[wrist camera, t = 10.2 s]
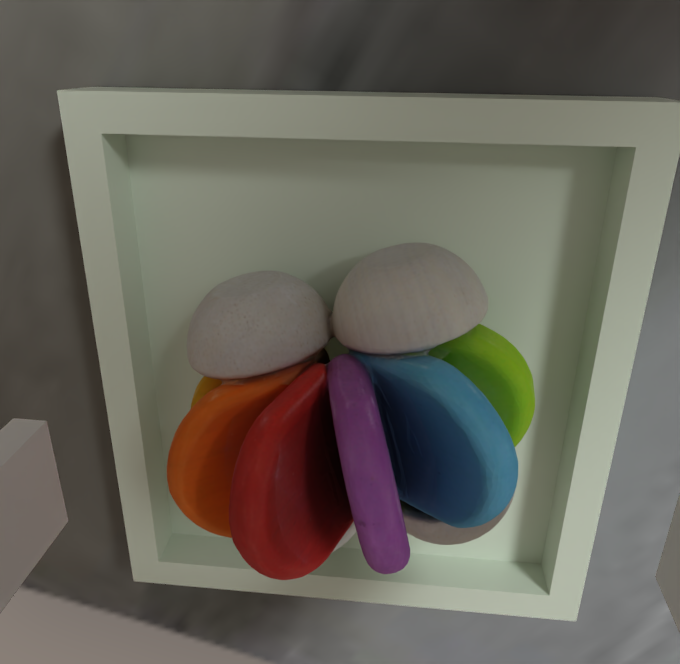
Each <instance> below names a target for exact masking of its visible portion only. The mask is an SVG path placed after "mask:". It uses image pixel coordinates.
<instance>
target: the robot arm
mask: <svg viewBox="0 0 680 664" xmlns="http://www.w3.org/2000/svg"><path fill="white" fill-rule="evenodd" d="M67 522H68V517H67V512H66V507H65V503H64V498H63V494H62V489H61V484H60V480H59V475H58V470H57V466H56V461H55V457H54V452H53V447H52V443H51V438H50V433H49V429H48V424H47V421H43V420H30V419H17V418H13V419H12V420H11V421H10V422H9V423H8V424H7V425H5V426H4V427H3V428H2V429H1V430H0V613H1V612H2V610H3V609H4V608H5V606H6V605H7V603H8V602H9V601H10V599H11V598H12V596H13V595H14V594H15V593H16V591H17V590H18V589H19V587H20V586H21V585H22V583H23V582H24V580H25V579H26V578H27V576H28V575H29V574H30V572H31V571H32V570H33V568H34V567H35V566H36V564H37V563H38V562H39V560H40V559H41V557H42V556H43V555H44V553H45V552H46V551H47V549H48V548H49V547H50V545H51V544H52V543H53V541H54V540H55V539H56V537H57V536H58V535H59V533H60V532H61V530H62V529H63V528H64V526H65V525H66V524H67ZM655 577H656V579H657V582H658V584H659V586H660V589H661V591H662V593H663V596H664V598H665V600H666V603H667V605H668V607H669V610H670V612H671V614H672V616H673V619H674V621H675V623H676V626H677V628H678V630H679V633H680V494H679V498H678V501H677V505H676V508H675V511H674V515H673V518H672V522H671V525H670V529H669V532H668V535H667V539H666V542H665V546H664V549H663V552H662V556H661V559H660V563H659V566H658V570H657V573H656V576H655Z"/></svg>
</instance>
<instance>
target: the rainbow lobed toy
mask: <svg viewBox="0 0 680 664" xmlns="http://www.w3.org/2000/svg"><path fill="white" fill-rule="evenodd" d="M487 311H488V296H487V294H486V291H485V289H484V287H483V285H482V283H481V281H480V279H479V278H478V276H477V275H476V273H475V272H474V270H473V269H472V268H471V267H470V266H469V265H468V264H467V263H466V262H465V261H464V260H462V259H461V258H460V257H458V256H457V255H455V254H454V253H452V252H450V251H449V250H447V249H445V248H442V247H440V246H437V245H433V244H429V243H404V244H398V245H394V246H390V247H386V248H383V249H380V250H378V251H375V252H373V253H371V254H369V255H367V256H366V257H365V258H363V259H362V260H361V261H359V262H358V263H357V264H356V265H355V266H354V267H353V269H352V270H351V271H350V272H349V273H348V274H347V276H346V277H345V279H344V281H343V282H342V284H341V286H340V288H339V290H338V293H337V295H336V298H335V302H334V307H333V312H332V311H331V310H330V309H329V307H328V306H327V304H326V303H325V301H324V300H323V299H322V298H321V296H320V295H319V294H318V293H317V292H316V291H315V290H314V289H313V288H312V287H311V286H309V285H308V284H307V283H305V282H304V281H302V280H300V279H298V278H296V277H294V276H292V275H289V274H287V273H283V272H279V271H257V272H251V273H246V274H243V275H239V276H236V277H233V278H231V279H228V280H226V281H224V282H222V283H220V284H218V285H217V286H216V287H214V288H213V289H212V290H211V291H210V292H209V293H208V294H207V295H206V296H205V297H204V299H203V300H202V301H201V303H200V304H199V305H198V307H197V309H196V311H195V312H194V314H193V317H192V319H191V322H190V325H189V330H188V334H187V356H188V360H189V363H190V365H191V367H192V368H193V369H194V370H195V371H197V372H198V373H200V374H201V375H203V376H204V377H203V378H202V379H201V381H200V382H199V384H198V385H197V387H196V390H195V393H194V396H193V399H192V403H191V409H190V411H189V412H188V413H187V415H186V416H185V417H184V418H183V420H182V421H181V423H180V425H179V426H178V428H177V430H176V432H175V435H174V437H173V440H172V443H171V447H170V450H169V455H168V461H167V482H168V487H169V491H170V494H171V496H172V498H173V500H174V501H175V503H176V504H177V506H178V507H179V509H180V510H181V511H182V512H183V513H184V515H185V516H186V517H188V518H189V519H190V520H191V521H192V522H193V523H195V524H196V525H197V526H199V527H201V528H203V529H204V530H206V531H208V532H211V533H214V534H217V535H220V536H224V537H229V538H232V540H233V543H234V544H235V546H236V548H237V550H238V551H239V553H240V554H241V556H242V558H243V559H244V560H245V561H246V562H247V563H248V565H250V566H251V567H252V568H253V569H254V570H256V571H257V572H259V573H260V574H262V575H264V576H267V577H269V578H273V579H277V580H290V579H296V578H300V577H303V576H305V575H307V574H309V573H311V572H312V571H314V570H315V569H317V568H318V567H319V566H320V565H321V564H323V563H324V562H325V560H326V559H327V558H328V557H329V556H330V554H331V553H332V552H334V551H335V550H337V549H338V548H340V547H341V546H343V545H344V544H345V543H346V542H348V541H349V539H350V538H351V537H352V536H353V535H354V534H355V532H356V531H357V535H358V539H359V542H360V546H361V549H362V552H363V555H364V557H365V559H366V561H367V564H368V565H369V566H370V567H371V568H372V569H373V570H374V571H376V572H378V573H381V574H392V573H396V572H398V571H400V570H402V569H403V568H404V567H405V566H406V565H407V564H408V561H409V558H410V546H409V541H408V536H407V533H408V534H410V535H412V536H414V537H415V538H418V539H420V540H422V541H425V542H429V543H433V544H439V545H456V544H463V543H466V542H469V541H472V540H474V539H477V538H479V537H481V536H482V535H484V534H486V533H487V532H489V531H490V530H491V529H493V528H494V527H495V526H496V525H497V524H498V523H499V522H500V520H501V519H502V518H503V517H504V515H505V514H506V512H507V511H508V509H509V507H510V505H511V503H512V500H513V497H514V494H515V490H516V486H517V480H518V458H517V454H516V450H515V447H516V446H517V445H518V443H519V442H520V441H521V440H522V438H523V437H524V435H525V434H526V432H527V430H528V428H529V426H530V424H531V421H532V418H533V415H534V410H535V393H534V384H533V377H532V374H531V371H530V369H529V367H528V365H527V362H526V361H525V359H524V357H523V356H522V355H521V353H520V352H519V351H518V350H517V348H516V347H515V346H514V345H513V344H511V343H510V342H509V341H508V340H507V339H505V338H504V337H503V336H501V335H500V334H498V333H496V332H495V331H493V330H491V329H489V328H487V327H486V326H484V325H481V324H479V323H480V322H481V321H482V320H483V318H484V317H485V315H486V313H487ZM333 337H336V338H337V340H338V341H339V342H340V343H341V344H342V345H344V346H345V347H347V348H348V350H349V353H347V354H341V355H338V356H336V357H335V358H333V359H332V360H331V361H330V359H329V355H328V353H327V351H326V350H325V348H324V347H325V346H326V344H327V343H328V342H329V341H330V339H331V338H333Z"/></svg>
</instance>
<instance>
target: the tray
mask: <svg viewBox="0 0 680 664" xmlns="http://www.w3.org/2000/svg"><path fill="white" fill-rule="evenodd" d="M57 95H58V102H59V108H60V115H61V121H62V127H63V134H64V140H65V146H66V153H67V159H68V166H69V172H70V178H71V185H72V191H73V198H74V204H75V210H76V217H77V223H78V229H79V236H80V242H81V249H82V255H83V261H84V268H85V274H86V281H87V287H88V293H89V300H90V306H91V312H92V319H93V325H94V332H95V338H96V344H97V351H98V357H99V364H100V370H101V376H102V383H103V389H104V396H105V402H106V408H107V415H108V421H109V427H110V434H111V440H112V447H113V453H114V459H115V466H116V472H117V479H118V485H119V491H120V498H121V504H122V510H123V517H124V523H125V530H126V536H127V542H128V549H129V555H130V562H131V568H132V574H133V581H137V582H148V583H159V584H170V585H181V586H192V587H203V588H214V589H225V590H236V591H247V592H258V593H269V594H280V595H291V596H302V597H313V598H324V599H335V600H346V601H357V602H368V603H379V604H390V605H401V606H412V607H423V608H434V609H445V610H456V611H467V612H478V613H490V614H501V615H512V616H523V617H534V618H545V619H556V620H567V621H576V620H577V615H578V611H579V606H580V602H581V597H582V593H583V588H584V584H585V579H586V575H587V570H588V566H589V561H590V556H591V552H592V547H593V543H594V538H595V534H596V529H597V525H598V520H599V516H600V511H601V507H602V502H603V498H604V493H605V489H606V484H607V480H608V475H609V471H610V466H611V462H612V457H613V453H614V448H615V444H616V439H617V435H618V430H619V425H620V421H621V416H622V412H623V407H624V403H625V398H626V394H627V389H628V385H629V380H630V376H631V371H632V367H633V362H634V358H635V353H636V349H637V344H638V340H639V335H640V331H641V326H642V322H643V317H644V313H645V308H646V304H647V299H648V294H649V290H650V285H651V281H652V276H653V272H654V267H655V263H656V258H657V254H658V249H659V245H660V240H661V236H662V231H663V227H664V222H665V218H666V213H667V209H668V204H669V200H670V195H671V191H672V186H673V182H674V177H675V173H676V168H677V163H678V159H679V154H680V101H679V100H673V99H667V98H661V97H622V96H568V95H515V94H462V93H408V92H355V91H301V90H248V89H195V88H141V87H85V88H75V89H65V90H57ZM404 243H429V244H433V245H437V246H440V247H442V248H445V249H447V250H449V251H450V252H452V253H454V254H455V255H457V256H458V257H460V258H461V259H462V260H464V261H465V262H466V263H467V264H468V265H469V266H470V267H471V268H472V269H473V270H474V272H475V273H476V275H477V276H478V278H479V279H480V281H481V283H482V285H483V287H484V289H485V291H486V294H487V296H488V311H487V313H486V315H485V317H484V318H483V320H482V321H481V322H480V323H479V324H481V325H484V326H486V327H487V328H489V329H491V330H493V331H495V332H496V333H498V334H500V335H501V336H503V337H504V338H505V339H507V340H508V341H509V342H510V343H511V344H513V345H514V346H515V347H516V348H517V350H518V351H519V352H520V353H521V355H522V356H523V357H524V359H525V361H526V362H527V365H528V367H529V369H530V371H531V374H532V377H533V384H534V393H535V410H534V415H533V418H532V421H531V424H530V426H529V428H528V430H527V432H526V434H525V435H524V437H523V438H522V440H521V441H520V442H519V443H518V445H517V446H516V447H515V450H516V454H517V458H518V480H517V486H516V490H515V494H514V497H513V500H512V503H511V505H510V507H509V509H508V511H507V512H506V514H505V515H504V517H503V518H502V519H501V520H500V522H499V523H498V524H497V525H496V526H495V527H494V528H493V529H491V530H490V531H489V532H487V533H486V534H484V535H482V536H481V537H479V538H477V539H474V540H472V541H469V542H466V543H463V544H456V545H439V544H433V543H429V542H425V541H422V540H420V539H418V538H415V537H414V536H412V535H410V534H408V533H407V536H408V541H409V546H410V558H409V561H408V564H407V565H406V566H405V567H404V568H403V569H402V570H400V571H398V572H396V573H392V574H381V573H378V572H376V571H374V570H373V569H372V568H371V567H370V566H369V565H368V564H367V561H366V559H365V557H364V555H363V552H362V549H361V546H360V542H359V539H358V535H357V531H356V532H355V534H354V535H353V536H352V537H351V538H350V539H349V541H348V542H346V543H345V544H344V545H343V546H341V547H340V548H338V549H337V550H335V551H334V552H332V553H331V554H330V556H329V557H328V558H327V559H326V560H325V562H324V563H323V564H321V565H320V566H319V567H318V568H317V569H315V570H314V571H312V572H311V573H309V574H307V575H305V576H303V577H300V578H296V579H290V580H277V579H273V578H269V577H267V576H264V575H262V574H260V573H259V572H257V571H256V570H254V569H253V568H252V567H251V566H250V565H248V563H247V562H246V561H245V560H244V559H243V558H242V556H241V554H240V553H239V551H238V550H237V548H236V546H235V544H234V543H233V540H232V538H229V537H224V536H220V535H217V534H214V533H211V532H208V531H206V530H204V529H203V528H201V527H199V526H197V525H196V524H195V523H193V522H192V521H191V520H190V519H189V518H188V517H186V516H185V515H184V513H183V512H182V511H181V510H180V509H179V507H178V506H177V504H176V503H175V501H174V500H173V498H172V496H171V494H170V491H169V487H168V482H167V461H168V455H169V450H170V447H171V443H172V440H173V437H174V435H175V432H176V430H177V428H178V426H179V425H180V423H181V421H182V420H183V418H184V417H185V416H186V415H187V413H188V412H189V411H190V409H191V403H192V399H193V396H194V393H195V390H196V387H197V385H198V384H199V382H200V381H201V379H202V378H203V377H204V376H203V375H201V374H200V373H198V372H197V371H195V370H194V369H193V368H192V367H191V365H190V363H189V360H188V356H187V334H188V330H189V325H190V322H191V319H192V317H193V314H194V312H195V311H196V309H197V307H198V305H199V304H200V303H201V301H202V300H203V299H204V297H205V296H206V295H207V294H208V293H209V292H210V291H211V290H212V289H213V288H214V287H216V286H217V285H218V284H220V283H222V282H224V281H226V280H228V279H231V278H233V277H236V276H239V275H243V274H246V273H251V272H257V271H279V272H283V273H287V274H289V275H292V276H294V277H296V278H298V279H300V280H302V281H304V282H305V283H307V284H308V285H309V286H311V287H312V288H313V289H314V290H315V291H316V292H317V293H318V294H319V295H320V296H321V298H322V299H323V300H324V301H325V303H326V304H327V306H328V307H329V309H330V310H331V311H332V312H333V307H334V302H335V298H336V295H337V293H338V290H339V288H340V286H341V284H342V282H343V281H344V279H345V277H346V276H347V274H348V273H349V272H350V271H351V270H352V269H353V267H354V266H355V265H356V264H357V263H358V262H359V261H361V260H362V259H363V258H365V257H366V256H367V255H369V254H371V253H373V252H375V251H378V250H380V249H383V248H386V247H390V246H394V245H398V244H404ZM324 348H325V350H326V351H327V353H328V355H329V359H330V361H331V360H332V359H333V358H335V357H336V356H338V355H341V354H347V353H349V350H348V348H347V347H345V346H344V345H342V344H341V343H340V342H339V341H338V340H337V338H336V337H333V338H331V339H330V341H329V342H328V343H327V344H326V346H325V347H324Z"/></svg>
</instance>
